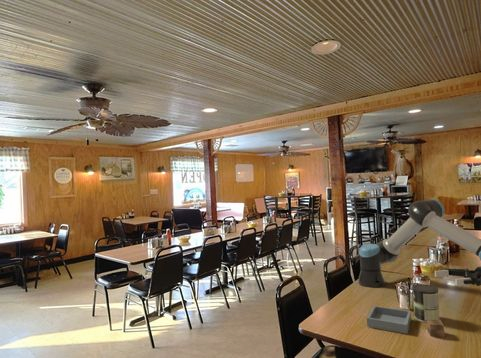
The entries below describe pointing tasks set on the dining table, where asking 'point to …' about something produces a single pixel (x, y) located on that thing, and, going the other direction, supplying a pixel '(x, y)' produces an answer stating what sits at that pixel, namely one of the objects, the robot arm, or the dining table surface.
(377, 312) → the tray
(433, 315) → the coffee can
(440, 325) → the walnut block
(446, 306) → the dining table surface
